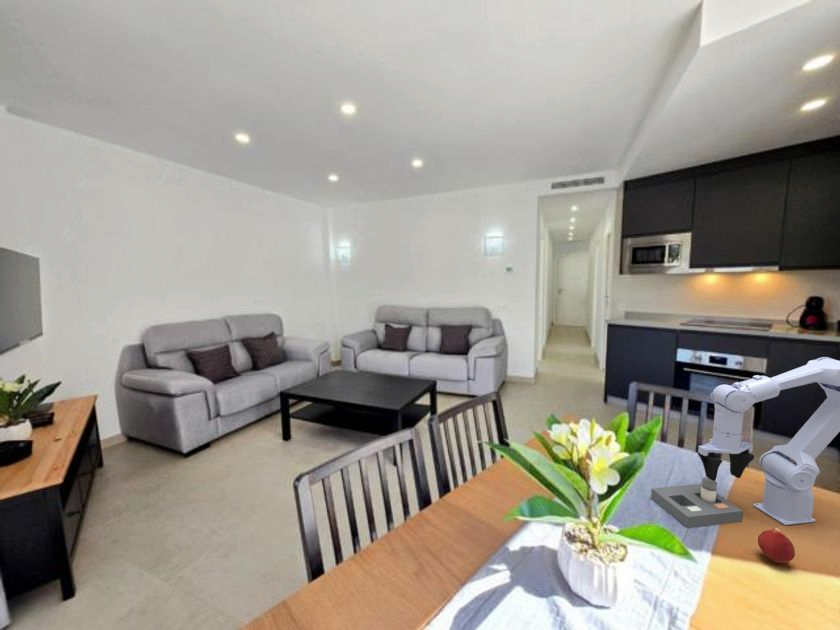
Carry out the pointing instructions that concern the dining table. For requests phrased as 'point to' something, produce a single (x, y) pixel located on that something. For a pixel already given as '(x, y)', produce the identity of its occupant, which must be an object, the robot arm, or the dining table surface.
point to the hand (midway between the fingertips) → (723, 477)
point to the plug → (708, 490)
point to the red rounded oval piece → (776, 546)
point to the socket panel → (695, 506)
